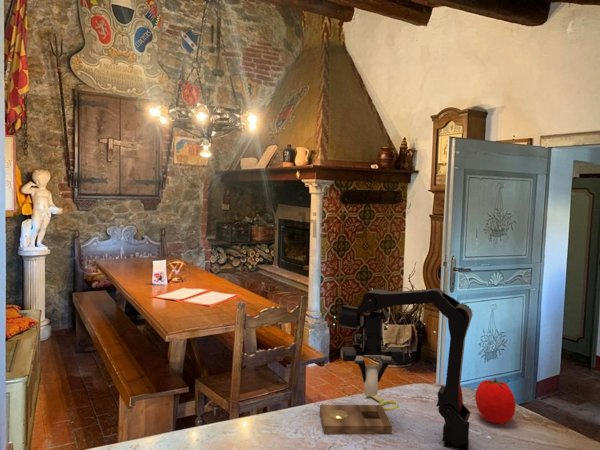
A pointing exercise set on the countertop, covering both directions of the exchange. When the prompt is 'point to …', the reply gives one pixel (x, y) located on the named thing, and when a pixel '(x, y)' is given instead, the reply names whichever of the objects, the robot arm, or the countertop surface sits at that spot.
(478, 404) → the tomato
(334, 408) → the walnut holder
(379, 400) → the key
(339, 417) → the brass disc
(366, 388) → the ivory candle
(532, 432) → the countertop surface
